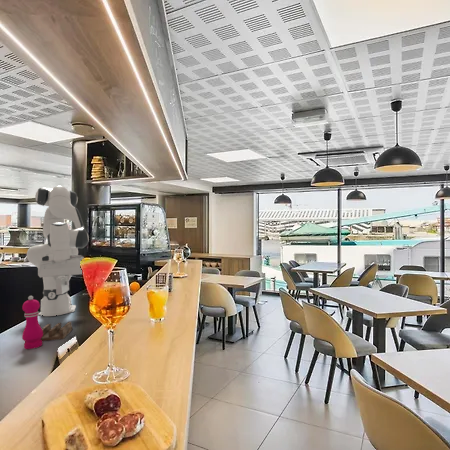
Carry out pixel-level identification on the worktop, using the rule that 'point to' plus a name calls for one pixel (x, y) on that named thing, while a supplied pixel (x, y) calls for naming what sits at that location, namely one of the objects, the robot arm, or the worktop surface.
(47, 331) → the walnut rack
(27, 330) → the pepper mill
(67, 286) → the clay strip
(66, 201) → the robot arm
